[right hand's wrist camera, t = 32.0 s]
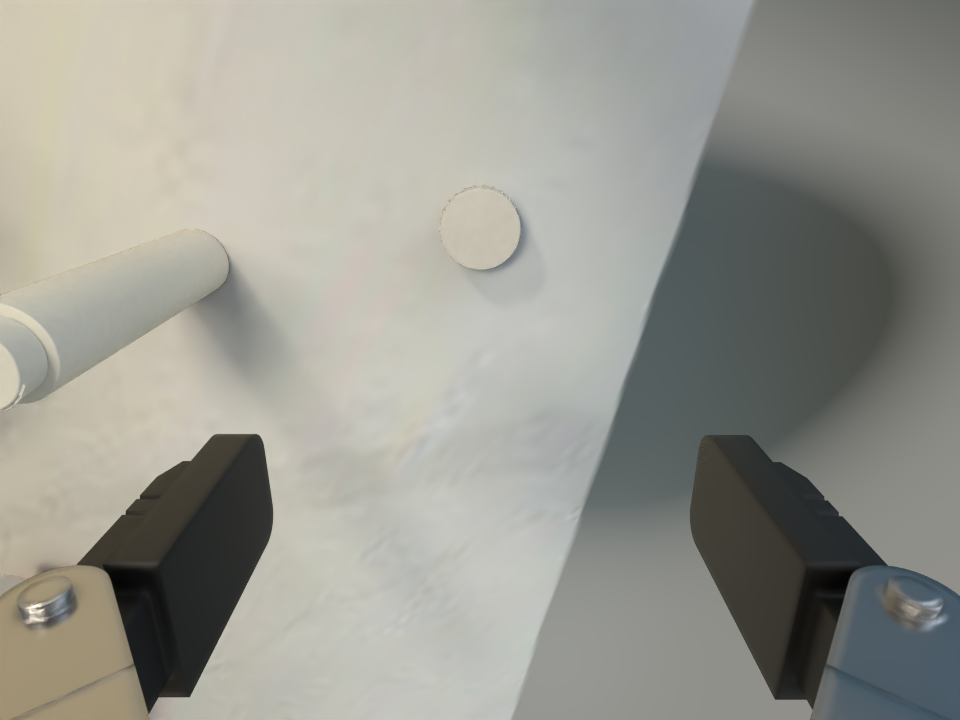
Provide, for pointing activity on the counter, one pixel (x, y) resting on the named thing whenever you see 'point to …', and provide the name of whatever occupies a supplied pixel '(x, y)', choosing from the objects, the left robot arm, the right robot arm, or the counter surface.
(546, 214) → the counter surface
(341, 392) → the counter surface
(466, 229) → the lid
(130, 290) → the slender white bottle
